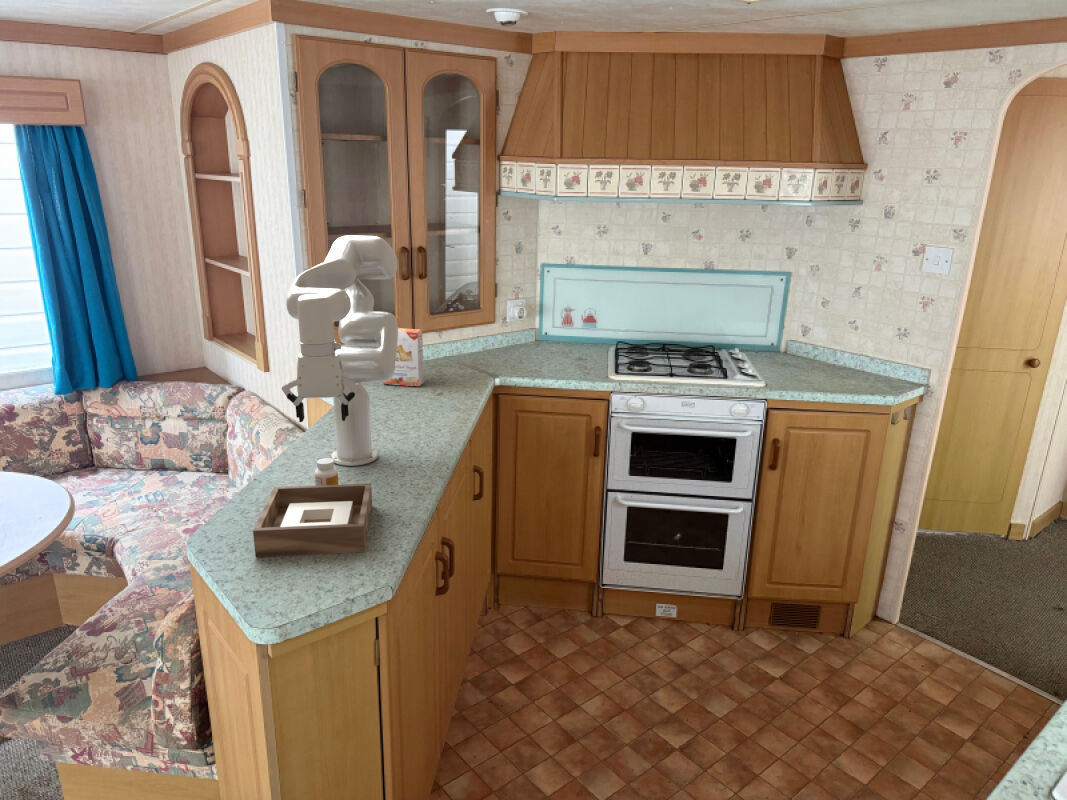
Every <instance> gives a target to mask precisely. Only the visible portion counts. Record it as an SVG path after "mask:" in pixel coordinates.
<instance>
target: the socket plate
mask: <svg viewBox="0 0 1067 800" xmlns="http://www.w3.org/2000/svg"><path fill="white" fill-rule="evenodd" d="M352 514H353V501H341V502H315V503H290V504H289V507H288V509H287V512H286V514H285V516H284V519H283V521H282V524H281V526H280V527H292V526H315V525H339V524H350V523H351V519H352ZM316 519H331V522H315V523H304V521H305V520H316Z"/></svg>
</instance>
